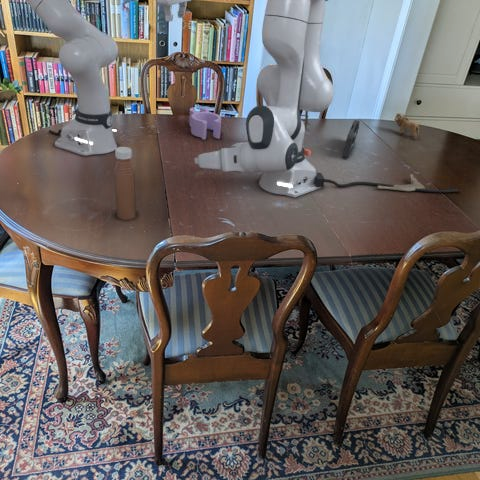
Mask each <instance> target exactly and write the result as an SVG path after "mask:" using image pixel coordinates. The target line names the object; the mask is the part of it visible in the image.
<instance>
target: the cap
mask: <svg viewBox="0 0 480 480" xmlns="http://www.w3.org/2000/svg"><path fill="white" fill-rule="evenodd" d="M114 151H115V152H114V153H115V158H116V159H117V160H118V159H123V160H124V159H129V160H130V159H131V158H132V157H133V152H132V148H130V147H128V146H117V148H116V149H115V150H114Z"/></svg>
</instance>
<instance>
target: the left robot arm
mask: <svg viewBox="0 0 480 480" xmlns="http://www.w3.org/2000/svg"><path fill="white" fill-rule="evenodd" d="M25 1H26V3H27V5H29V6H30V8H31V9H32V10H33V12H34V13H35V14H36V16H37V17H38V18H39V19H40V20H41V22H42V23H43V24H44V26H46V28H47V29H48V30H49V31H50V32H51V34H53V35H54V36H55V37H57V38H60V39H61V40H64V41H65V42H66V43H65V44H63V45H62V46H61V47H60V49H59V52H58V59H59V62H60V65H61V67H62V68H63V69H64V70H65V71H66V72H67V73H68V74H69V75H70V77H71V79H72V82H73V83H74V87H75V92H76V101H77V108H76V109H75V110H74V111H71V115H72V116H74V115H75V116H74V118H73V119H72V120H71V121H69V122H68V123H67V124H65V125H64V126H63V127H62V128H61V129H59V130H58V131H57V132H55V131H53V130H52V129H49V130H48V132H49V133H50V134H53V135H55V136H59V135H60V137H59V138H57V139H56V140H55V142H54V146H55V147H57V148H59V149H62V150H65V151H69V152H72V153H74V154H78V155H80V156H84V157H85V156H86V157H87V156H92V155H105V154H108V153H111V152H114V151H115V149H116V148H118V145H117V142H116V140H115V135H114V132H117V129H113V111H112V109H111V97H110V88H109V87H108V85H107V84H105V83H104V80H103V78H102V74H101V70H102V69H103V68H106V67H108V66H110V65H111V64H112V63H113V62H114V61H115V60H117V57H118V55H119V47H118V44H117V41H116V40H115V39H114V38H113V37H112V36H111V35H109V34H107V33H104V32H103V31H101V30H100V29H99V28H98V27H96V26H95V25H93V24H92V23H91V22H90V21H89V20H88V19H86V18H85V17H84V16H83V15H82V14H81V13H80V12H79V11H78V10H77V9H76V8H75V6H74V5H73V3H71V2H70V0H25ZM155 1H156V4H157V5H159V6H163V12H164V16H165V17H164V18H165V22H172V21H173V18H174V15H173V14H172V13H173V12H172V9H173V6H174V5H178V11H177V18H179V19H183V18H185V15H186V13H185V12H186V9H187V4H188V2H191V1H192V0H155Z"/></svg>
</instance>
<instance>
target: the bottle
mask: <svg viewBox="0 0 480 480" xmlns="http://www.w3.org/2000/svg"><path fill="white" fill-rule="evenodd" d="M135 173H136V172H135V167H134V165H133V163H132V161H131V160H130V159H124V160H123V159H118V158H117V161H116V164H115V166H114V169H113V175H114V176H113V177H114V188H115V190H114V191H115V192H114V193H115V205H116V206H115V209H116V217H117V218H118V219H120V220H124V221H128V220H133V219H134V218H136V216H137V203H136V199H137V198H136V174H135Z"/></svg>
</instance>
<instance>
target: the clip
mask: <svg viewBox="0 0 480 480" xmlns="http://www.w3.org/2000/svg"><path fill="white" fill-rule="evenodd" d="M188 119H189V120H188V121H189V122H188V125H189V127H190V134H191V135H193V136H195V137H197V138H201V140H206V139H207V130H211V131H213V132H212V137H213V138H215V139H218V140H219V139H221V131H222V116H221V115H219V114H217V113H215V112H211V111H210V109H209V108H206V107H203V106H200V107H199V111H196V108H195V107H190V108H189V118H188Z"/></svg>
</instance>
